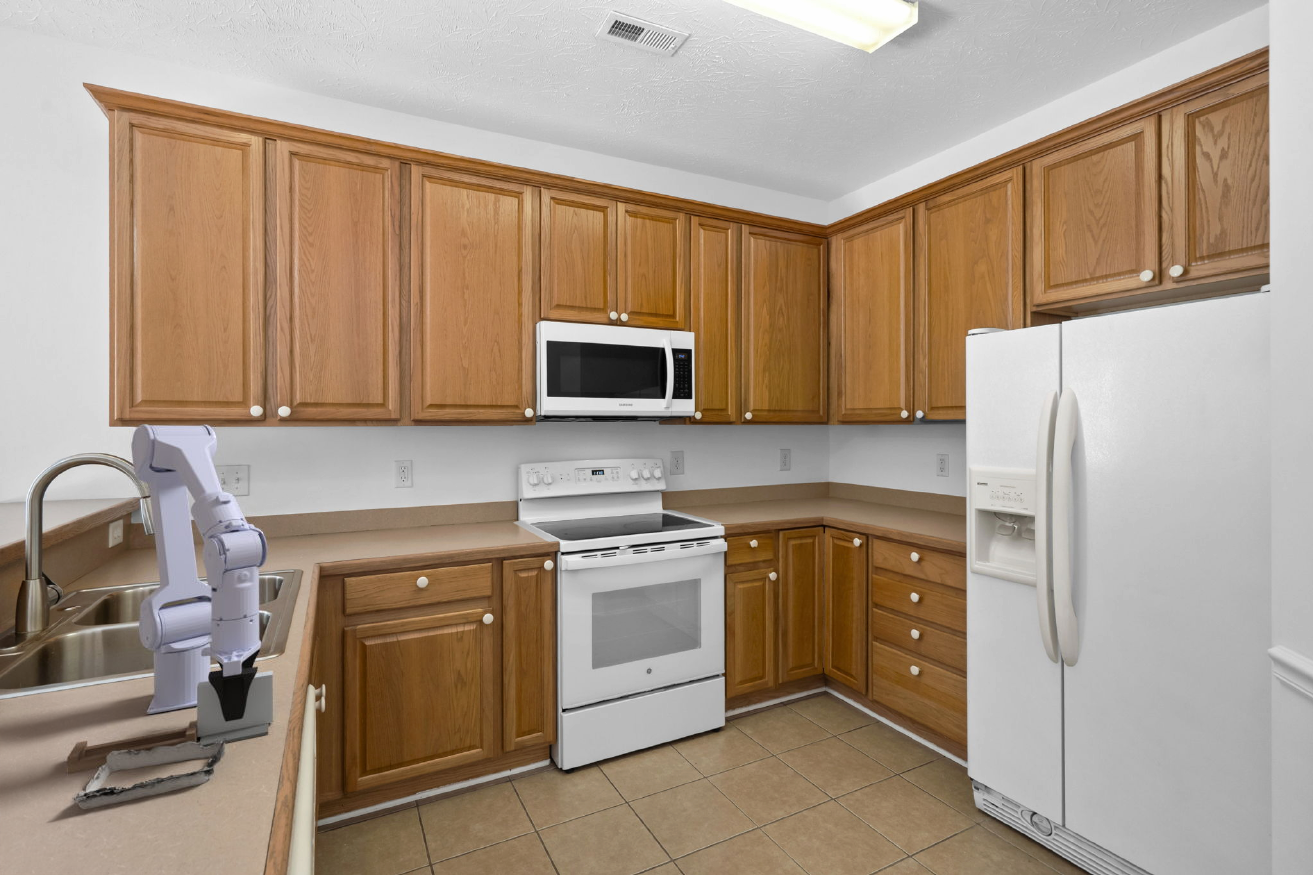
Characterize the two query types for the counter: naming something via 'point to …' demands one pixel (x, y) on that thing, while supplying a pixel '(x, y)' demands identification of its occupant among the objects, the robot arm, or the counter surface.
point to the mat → (235, 735)
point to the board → (255, 711)
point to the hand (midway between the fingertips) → (236, 708)
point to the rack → (126, 747)
